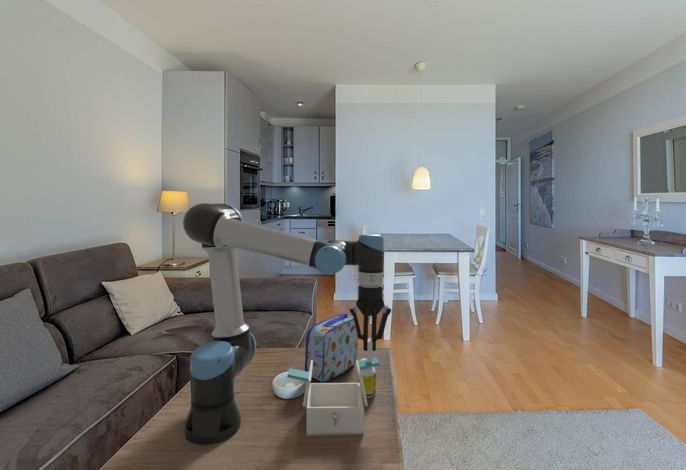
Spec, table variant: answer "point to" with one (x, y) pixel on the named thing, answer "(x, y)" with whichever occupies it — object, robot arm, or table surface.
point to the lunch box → (331, 347)
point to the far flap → (360, 366)
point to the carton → (335, 409)
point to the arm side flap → (302, 378)
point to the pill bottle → (368, 380)
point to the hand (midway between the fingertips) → (369, 360)
